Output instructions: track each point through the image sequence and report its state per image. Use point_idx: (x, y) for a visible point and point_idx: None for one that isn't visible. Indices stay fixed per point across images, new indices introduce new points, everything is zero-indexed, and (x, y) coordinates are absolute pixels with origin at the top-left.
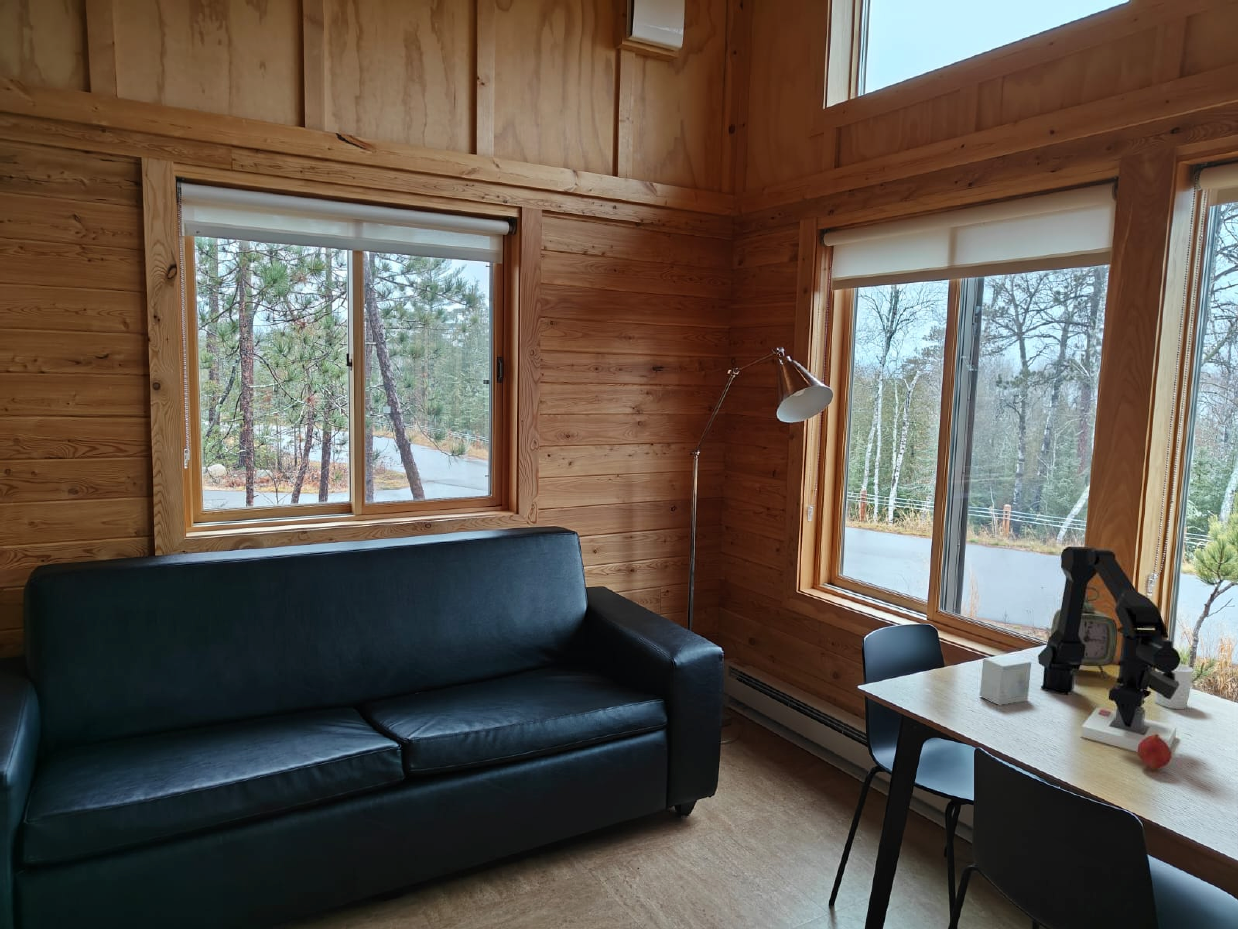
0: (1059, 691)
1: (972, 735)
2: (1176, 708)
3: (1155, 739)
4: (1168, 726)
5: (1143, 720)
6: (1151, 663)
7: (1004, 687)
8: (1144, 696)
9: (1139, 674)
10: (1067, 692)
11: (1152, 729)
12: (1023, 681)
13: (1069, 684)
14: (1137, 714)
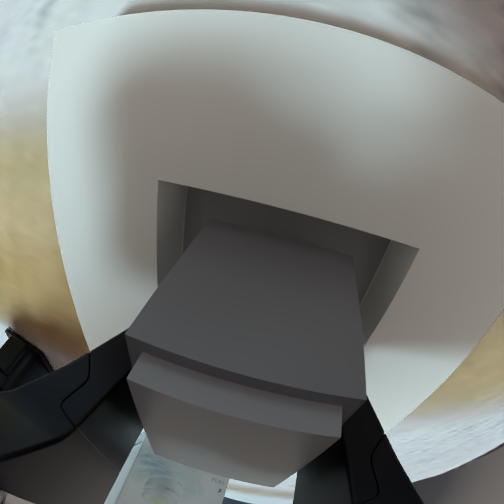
0: (45, 366)
1: (416, 480)
2: None
3: None
4: (78, 64)
5: (240, 285)
6: None
7: (214, 499)
8: (20, 465)
9: None
10: (35, 353)
11: (224, 165)
12: (154, 483)
13: (18, 361)
14: (344, 416)
